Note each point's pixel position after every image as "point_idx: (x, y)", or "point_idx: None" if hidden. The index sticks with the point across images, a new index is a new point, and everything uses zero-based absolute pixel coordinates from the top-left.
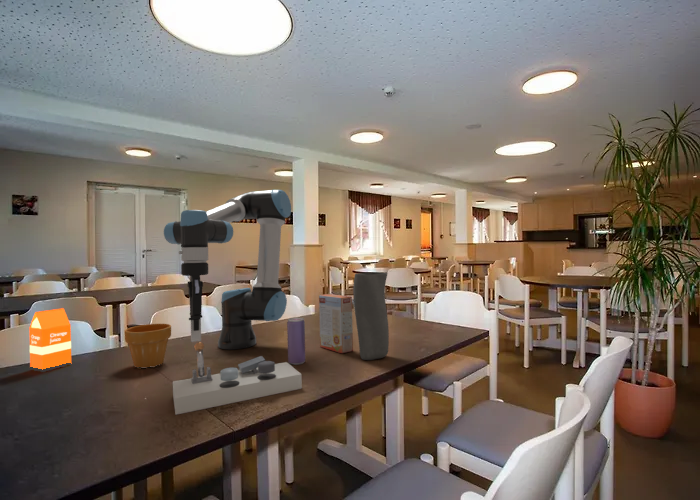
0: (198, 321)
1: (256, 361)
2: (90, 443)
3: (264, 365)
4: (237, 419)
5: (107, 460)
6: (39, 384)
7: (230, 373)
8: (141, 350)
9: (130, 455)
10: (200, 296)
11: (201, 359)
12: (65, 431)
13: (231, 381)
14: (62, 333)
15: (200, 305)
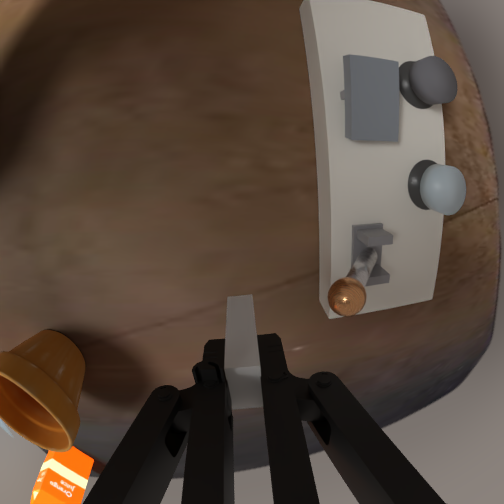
0: (286, 368)
1: (388, 86)
2: (423, 368)
3: (453, 91)
4: (478, 185)
5: (469, 336)
6: None
7: (464, 191)
8: (78, 399)
9: (475, 317)
10: (430, 493)
11: (369, 271)
12: (368, 406)
13: (415, 176)
14: (55, 486)
15: (384, 439)
